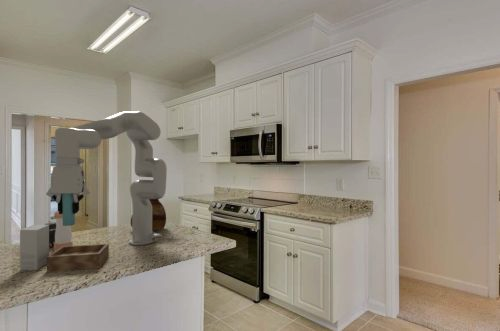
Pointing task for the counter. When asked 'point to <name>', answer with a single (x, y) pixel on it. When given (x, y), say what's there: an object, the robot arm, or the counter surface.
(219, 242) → the counter surface
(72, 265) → the box
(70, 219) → the peg
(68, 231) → the salt shaker
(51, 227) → the battery charger
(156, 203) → the ceramic pitcher
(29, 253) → the skincare box
